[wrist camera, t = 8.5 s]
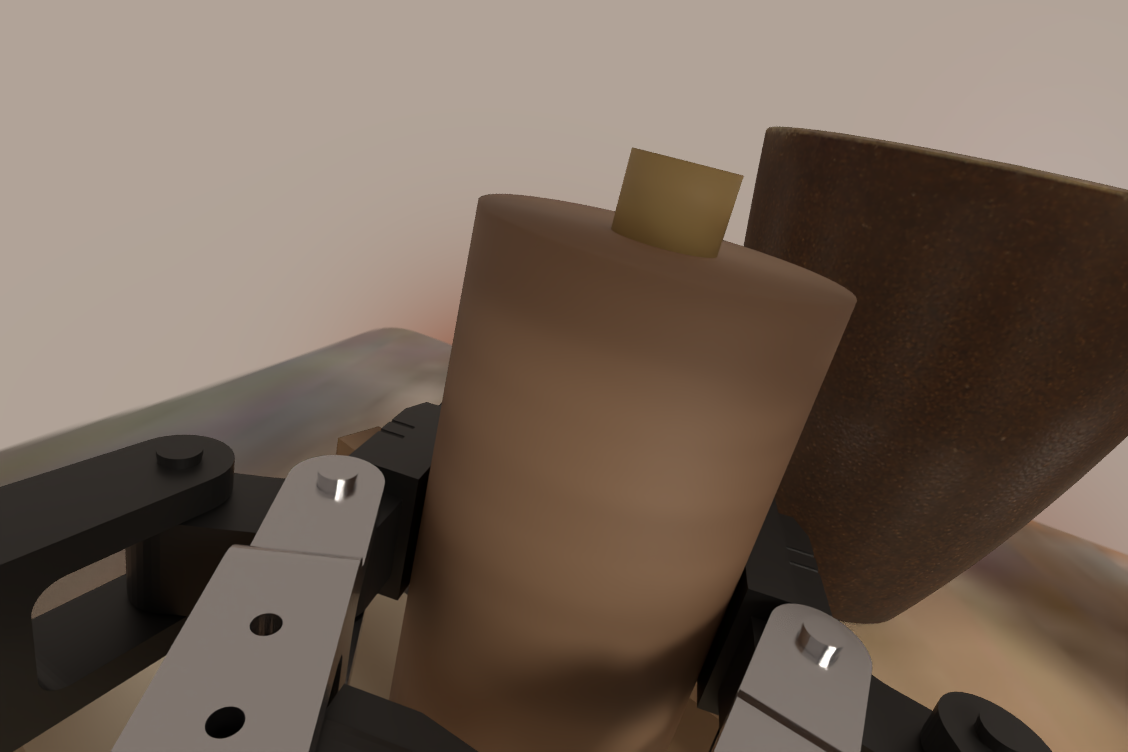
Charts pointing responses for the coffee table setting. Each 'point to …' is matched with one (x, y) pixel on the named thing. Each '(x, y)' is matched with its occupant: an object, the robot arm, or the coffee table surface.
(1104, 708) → the coffee table surface
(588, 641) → the cylinder
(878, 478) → the plant pot
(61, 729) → the board
